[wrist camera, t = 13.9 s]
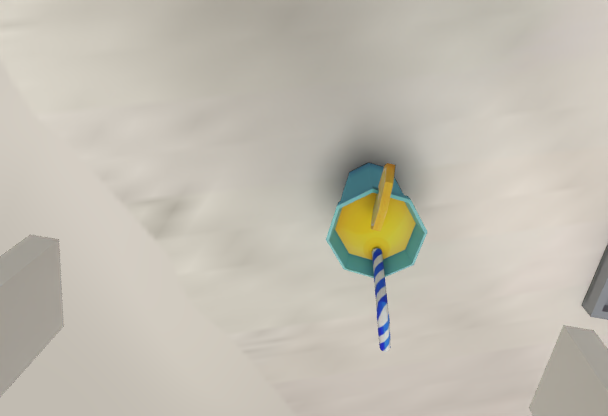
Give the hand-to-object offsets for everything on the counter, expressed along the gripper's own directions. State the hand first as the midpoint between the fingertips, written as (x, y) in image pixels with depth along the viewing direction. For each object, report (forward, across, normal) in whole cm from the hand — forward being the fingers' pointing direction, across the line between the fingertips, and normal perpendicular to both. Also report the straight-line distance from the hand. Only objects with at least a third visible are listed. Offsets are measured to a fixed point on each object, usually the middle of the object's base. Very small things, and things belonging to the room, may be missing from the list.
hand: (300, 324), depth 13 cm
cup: (+35, +5, -9) cm, 36 cm away
